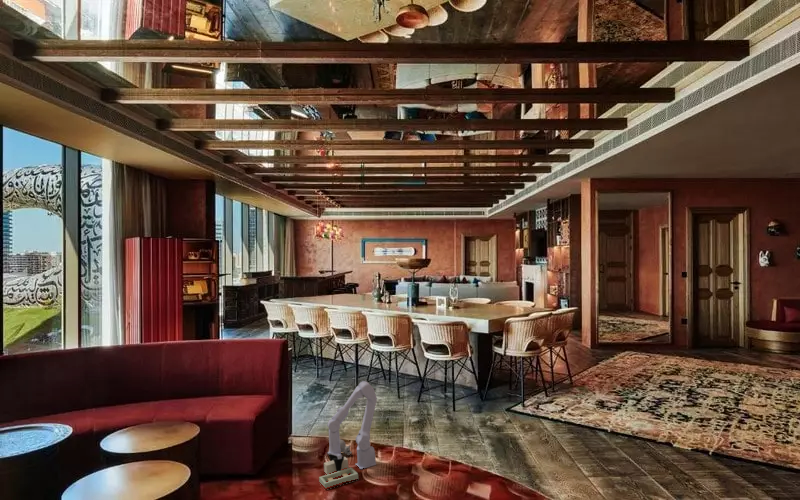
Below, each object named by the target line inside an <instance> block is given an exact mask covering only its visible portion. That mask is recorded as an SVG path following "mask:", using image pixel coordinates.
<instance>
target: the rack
mask: <svg viewBox="0 0 800 500" xmlns="http://www.w3.org/2000/svg"><path fill="white" fill-rule="evenodd" d="M349 473H351V474H350V475H348V474H349ZM341 475H342V476H343V477H341V478H338V479H333V478H335V477H338V476H341ZM355 479H358V480H359V473H358V472H357V471H356V470H355V469H354V468H353V467H348V468H347V469H344V470H341V471H337V472H334V473H331V474H327V475H326V474H325V475H322V476H319V477H318V480H319V481H318V482H320V483H321V484H322V485H323V486H324V487H325V488H327V487H330V486H333V485H336V484H339V483H342V482H346V481H351V480H355ZM326 481H328V482H326ZM320 483H319V484H320ZM321 484H320V485H321Z"/></svg>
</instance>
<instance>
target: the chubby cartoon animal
mask: <svg viewBox="0 0 800 500" xmlns="http://www.w3.org/2000/svg"><path fill="white" fill-rule="evenodd" d="M340 449H341V452H343V453H344V454H345V455H346V456H347V455H350V454H351V455H352V450H351V445H346V442H345V440H343V439H341V438H340ZM351 455H350V456H351Z"/></svg>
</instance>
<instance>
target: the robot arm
mask: <svg viewBox="0 0 800 500" xmlns="http://www.w3.org/2000/svg"><path fill="white" fill-rule="evenodd" d="M364 397H365V399H366V405H365V409H364V413H363V418H362V423H361V427H360V429H359V430H358V434H357V435H356V437H355V442H356V444H357V447H356V456H357V457H356V458H357V463H355V464H354V465H355V466H356V465H357V466H358V467H359V468H358V467H357V466H356V467H357V468H358V469H360V470H364V469H366V468H369V467H370V468H371V467H373V466H377V461H376V452H375V450H376V449H375V448H374V447H373V446H372V445H371V440H370V439H371V432H370V431H371V427H372V423H373V420H374V419H373V418H374V414H375V410H376V407H377V406H376V405H377V401H378V399H377V395H376V392H375V389H374V387H373V386H372V385H371V384H370V383H369V382H368V381H367V380H362V381H360V382H359V384H358V385H357V386H356V387H355V389H354V390H353V392H352V393H351V395H350V396H349V398H348V399H347V400H346V402H345V403H344V405H343V406H340V407H339V408H337V409H336V412H335V414H334V415H333V416H331V419H329V420H328V422H327V424H326V426H327V428H328V443H329V444H328V445H329V447H328V451H327V456H328V457H329V461H332V460H334V462H335V466H336V470H337V471H341V466H342V462H343V460H344V457H345V456H343V454H341V449H340V439H341V437H340V428H341V424H342V423H343V422H344V420H345V419H346V418H347V417H348V415H349V410H350V408H352V406H353V405H354V404H355V402H357V400H358V399H361V398H364ZM363 468H364V469H363Z"/></svg>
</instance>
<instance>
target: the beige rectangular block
mask: <svg viewBox="0 0 800 500" xmlns="http://www.w3.org/2000/svg"><path fill="white" fill-rule="evenodd" d="M343 457H344V460H343V462H342V466H341V469H344V468H349V460H348V458H347V457H346V456H343ZM323 471H324V472H325V473H326V474H329V473H332V472H334V471H337V470H336V466H335V462H334V460H332V461H330V460H329V461H325V462H323ZM325 473H324V474H325ZM326 474H325V475H326Z"/></svg>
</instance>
